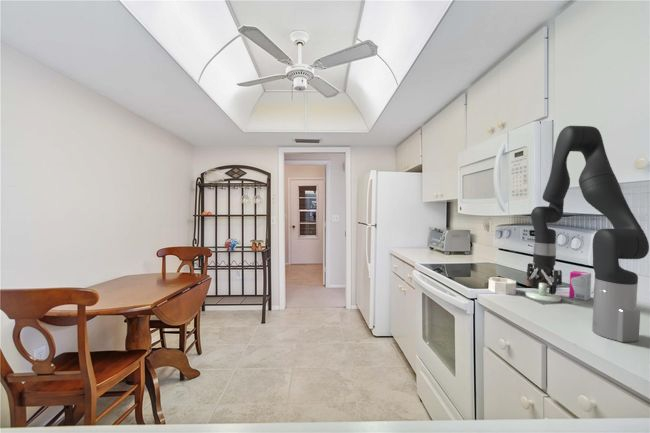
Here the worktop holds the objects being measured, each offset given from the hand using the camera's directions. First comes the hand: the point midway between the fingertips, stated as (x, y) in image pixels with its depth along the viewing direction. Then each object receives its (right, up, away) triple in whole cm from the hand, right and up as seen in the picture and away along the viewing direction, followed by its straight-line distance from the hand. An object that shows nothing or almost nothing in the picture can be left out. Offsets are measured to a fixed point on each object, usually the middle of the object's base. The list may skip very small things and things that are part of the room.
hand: (542, 290), depth 120 cm
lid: (0, -3, 0) cm, 3 cm away
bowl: (-12, -3, +9) cm, 15 cm away
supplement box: (+16, -4, 0) cm, 16 cm away
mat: (0, -4, 0) cm, 4 cm away
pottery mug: (+10, -3, +17) cm, 20 cm away
